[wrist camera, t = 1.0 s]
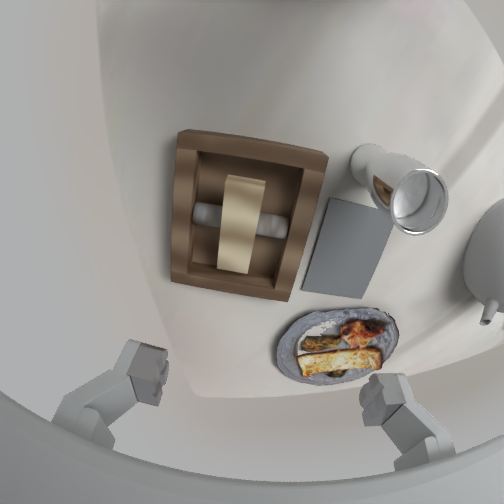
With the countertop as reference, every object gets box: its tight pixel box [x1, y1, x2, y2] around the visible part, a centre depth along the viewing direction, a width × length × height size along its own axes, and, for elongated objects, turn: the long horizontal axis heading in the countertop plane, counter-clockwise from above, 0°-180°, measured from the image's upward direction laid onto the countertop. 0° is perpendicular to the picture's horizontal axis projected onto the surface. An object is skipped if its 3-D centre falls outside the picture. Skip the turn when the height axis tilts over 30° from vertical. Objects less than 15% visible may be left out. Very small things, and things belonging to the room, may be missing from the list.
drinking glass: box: [350, 144, 448, 236], centre depth 28 cm, size 7×7×15 cm
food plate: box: [276, 307, 399, 386], centre depth 51 cm, size 25×23×4 cm
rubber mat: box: [302, 197, 394, 299], centre depth 41 cm, size 16×11×1 cm
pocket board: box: [171, 129, 329, 302], centre depth 38 cm, size 22×18×4 cm
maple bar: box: [217, 175, 266, 274], centre depth 36 cm, size 14×4×2 cm, turn 171°
